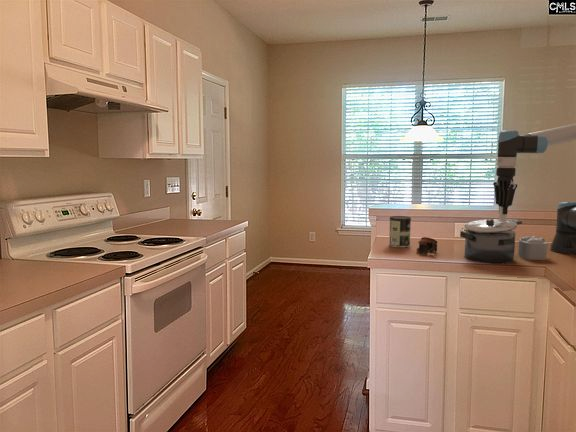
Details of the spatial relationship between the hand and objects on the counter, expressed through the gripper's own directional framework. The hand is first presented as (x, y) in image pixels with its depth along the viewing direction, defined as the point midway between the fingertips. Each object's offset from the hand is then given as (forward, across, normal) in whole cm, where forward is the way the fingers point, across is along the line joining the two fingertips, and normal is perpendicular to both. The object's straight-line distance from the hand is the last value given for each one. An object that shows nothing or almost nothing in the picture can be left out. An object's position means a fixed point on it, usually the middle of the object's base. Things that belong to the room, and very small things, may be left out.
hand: (502, 221), depth 210 cm
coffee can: (+17, -34, -32) cm, 49 cm away
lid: (+2, 0, -4) cm, 5 cm away
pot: (+16, 0, -7) cm, 18 cm away
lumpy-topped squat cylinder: (+16, +1, +15) cm, 22 cm away
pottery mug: (+17, -15, -26) cm, 35 cm away
